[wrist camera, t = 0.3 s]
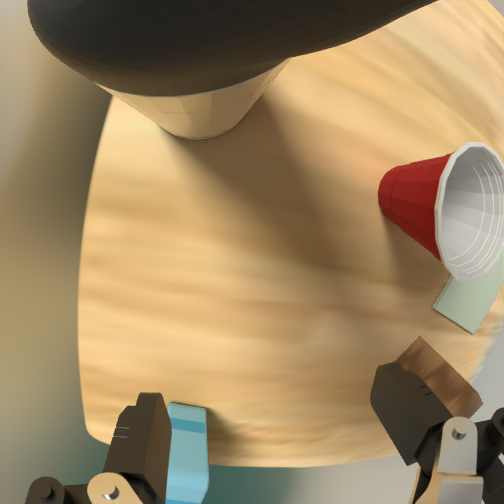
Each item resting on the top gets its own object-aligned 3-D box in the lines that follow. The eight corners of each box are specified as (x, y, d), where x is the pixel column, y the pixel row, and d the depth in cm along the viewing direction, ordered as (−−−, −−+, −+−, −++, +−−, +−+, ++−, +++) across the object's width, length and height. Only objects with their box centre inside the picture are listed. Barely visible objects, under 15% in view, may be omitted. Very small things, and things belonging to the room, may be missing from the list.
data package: (169, 396, 31) (162, 479, 20) (206, 402, 32) (210, 484, 21) (161, 447, 34) (157, 515, 23) (191, 452, 35) (193, 520, 24)
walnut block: (407, 375, 36) (454, 432, 24) (394, 362, 35) (445, 425, 23) (431, 351, 36) (483, 403, 23) (419, 336, 34) (477, 392, 22)
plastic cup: (447, 173, 28) (527, 188, 16) (411, 256, 30) (485, 299, 19) (380, 120, 25) (468, 110, 14) (338, 217, 28) (415, 255, 16)
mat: (471, 332, 37) (473, 334, 36) (431, 307, 33) (434, 309, 32) (523, 227, 33) (526, 228, 32) (493, 179, 29) (496, 179, 28)
